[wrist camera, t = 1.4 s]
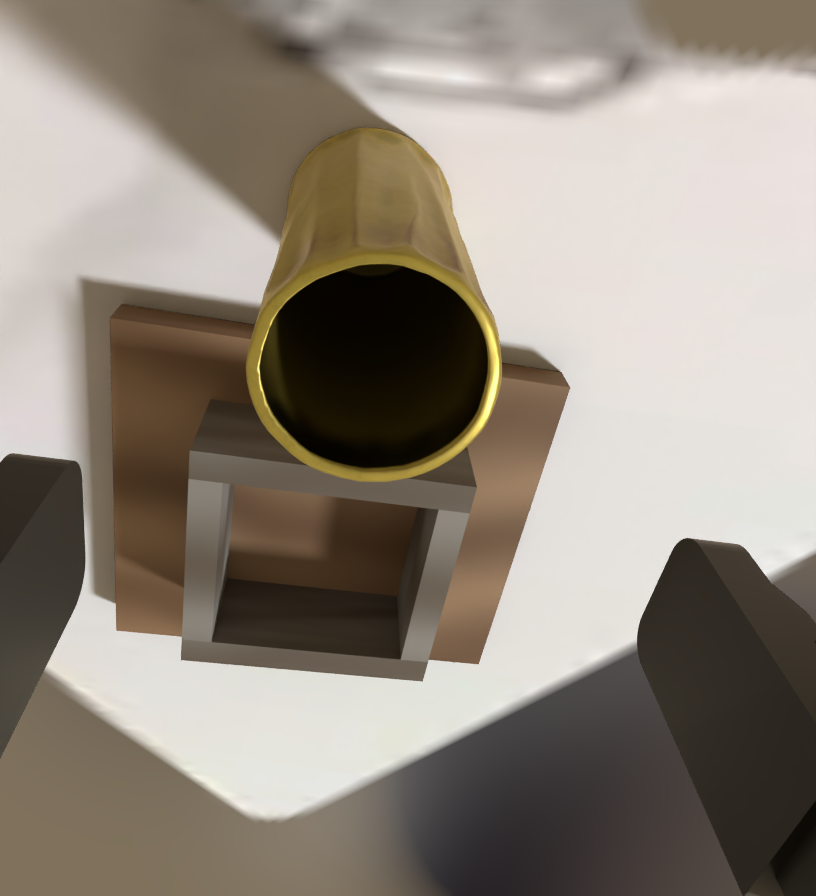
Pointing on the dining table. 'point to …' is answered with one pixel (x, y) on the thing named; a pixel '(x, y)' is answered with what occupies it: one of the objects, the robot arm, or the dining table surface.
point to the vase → (373, 317)
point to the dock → (303, 517)
